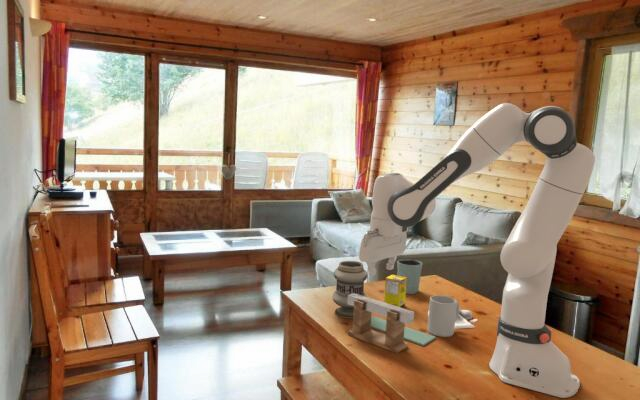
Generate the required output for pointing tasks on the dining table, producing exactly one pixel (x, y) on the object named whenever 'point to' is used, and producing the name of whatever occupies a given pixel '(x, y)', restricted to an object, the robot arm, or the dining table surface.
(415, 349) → the dining table surface
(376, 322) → the mat
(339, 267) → the apothecary jar
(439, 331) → the mug
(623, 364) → the dining table surface
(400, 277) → the supplement box
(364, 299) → the rail
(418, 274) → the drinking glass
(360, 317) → the rack
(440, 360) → the dining table surface
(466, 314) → the cloth
